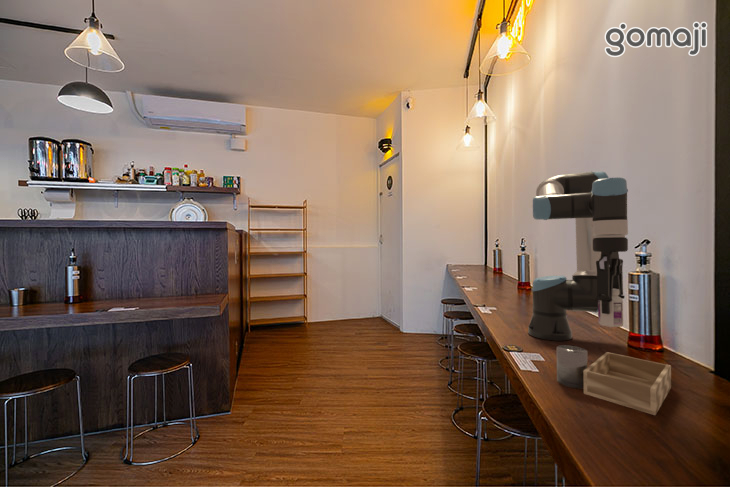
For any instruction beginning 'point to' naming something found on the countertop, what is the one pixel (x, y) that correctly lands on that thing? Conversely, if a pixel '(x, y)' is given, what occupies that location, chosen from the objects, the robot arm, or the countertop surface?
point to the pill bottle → (615, 308)
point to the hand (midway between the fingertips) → (610, 323)
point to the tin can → (571, 365)
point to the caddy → (628, 381)
